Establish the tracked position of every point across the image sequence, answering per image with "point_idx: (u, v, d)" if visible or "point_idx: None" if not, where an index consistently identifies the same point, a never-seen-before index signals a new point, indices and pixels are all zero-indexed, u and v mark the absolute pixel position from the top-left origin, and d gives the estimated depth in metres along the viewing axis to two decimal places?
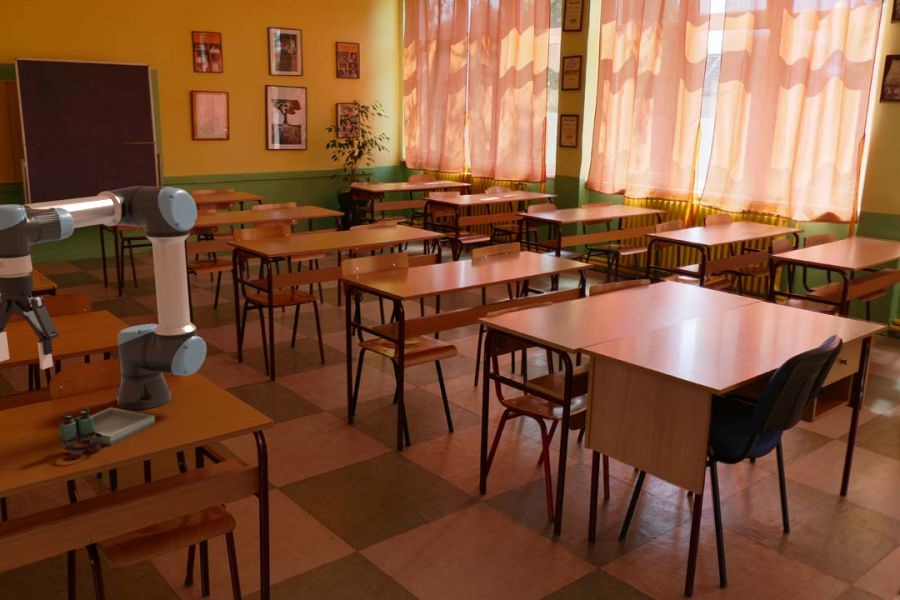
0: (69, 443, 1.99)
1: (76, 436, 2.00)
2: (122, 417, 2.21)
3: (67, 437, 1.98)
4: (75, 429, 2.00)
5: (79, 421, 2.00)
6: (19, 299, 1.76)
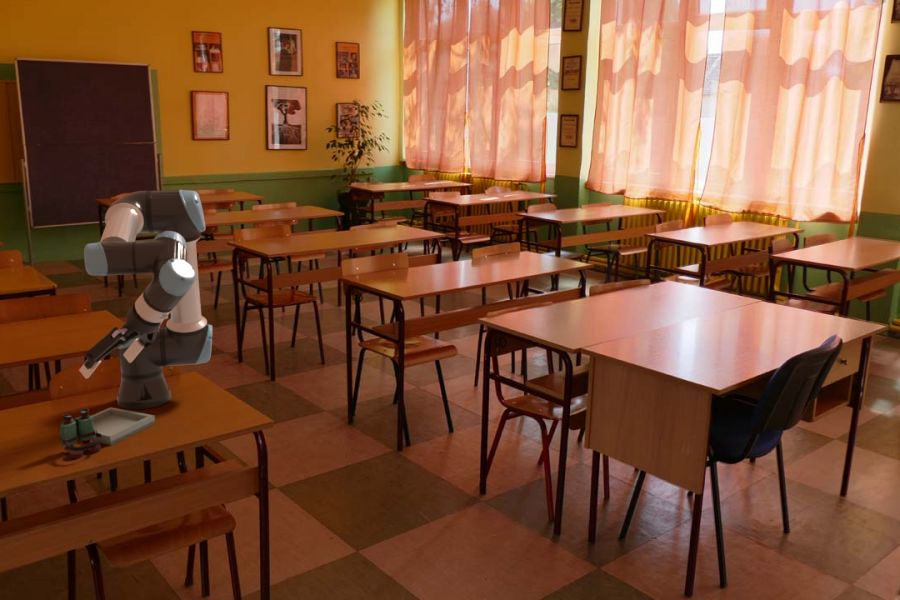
0: (69, 443, 1.99)
1: (76, 436, 2.00)
2: (122, 417, 2.21)
3: (67, 437, 1.98)
4: (75, 429, 2.00)
5: (79, 421, 2.00)
6: None
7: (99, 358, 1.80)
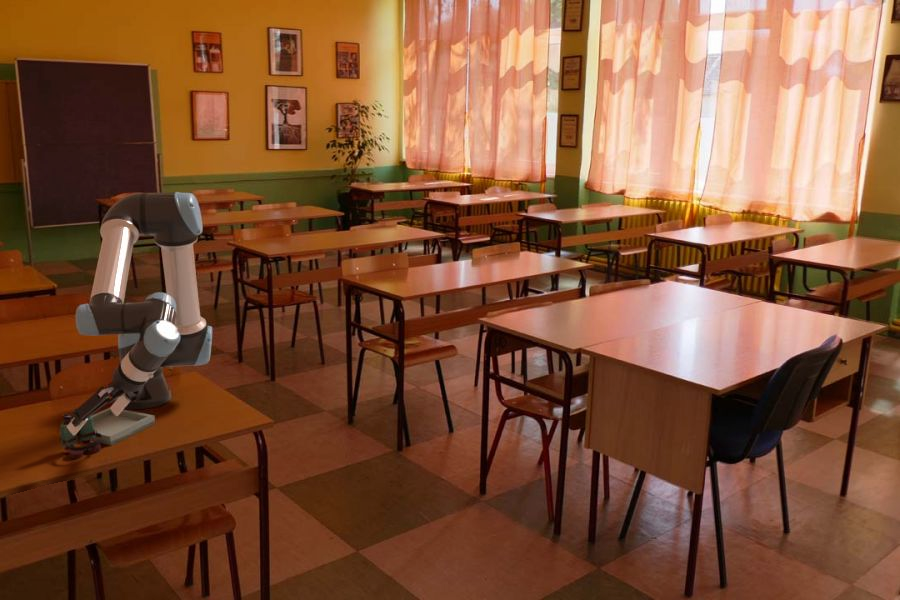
0: (69, 443, 1.99)
1: (76, 436, 2.00)
2: (122, 417, 2.21)
3: (67, 437, 1.98)
4: None
5: None
6: None
7: (86, 416, 1.85)
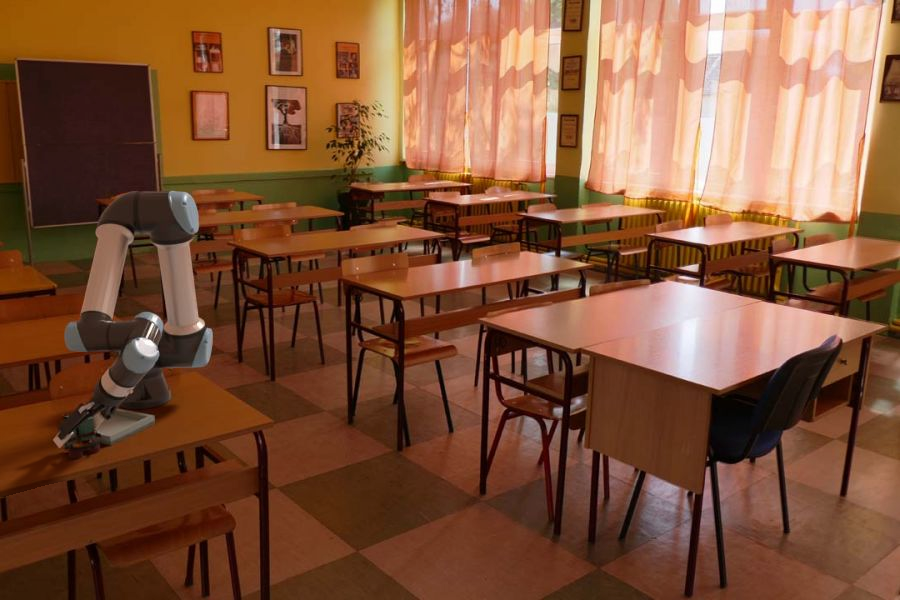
0: (69, 443, 1.99)
1: (75, 436, 2.00)
2: (122, 417, 2.21)
3: None
4: (75, 429, 1.99)
5: None
6: None
7: (70, 431, 1.92)
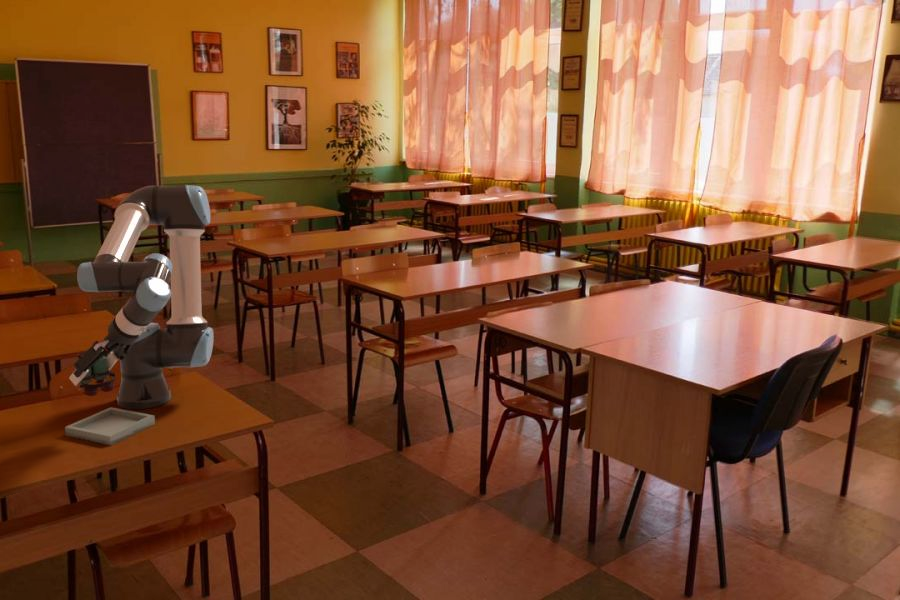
0: (84, 381, 2.05)
1: (90, 375, 2.07)
2: (122, 417, 2.21)
3: None
4: (89, 368, 2.06)
5: None
6: None
7: (86, 368, 1.99)
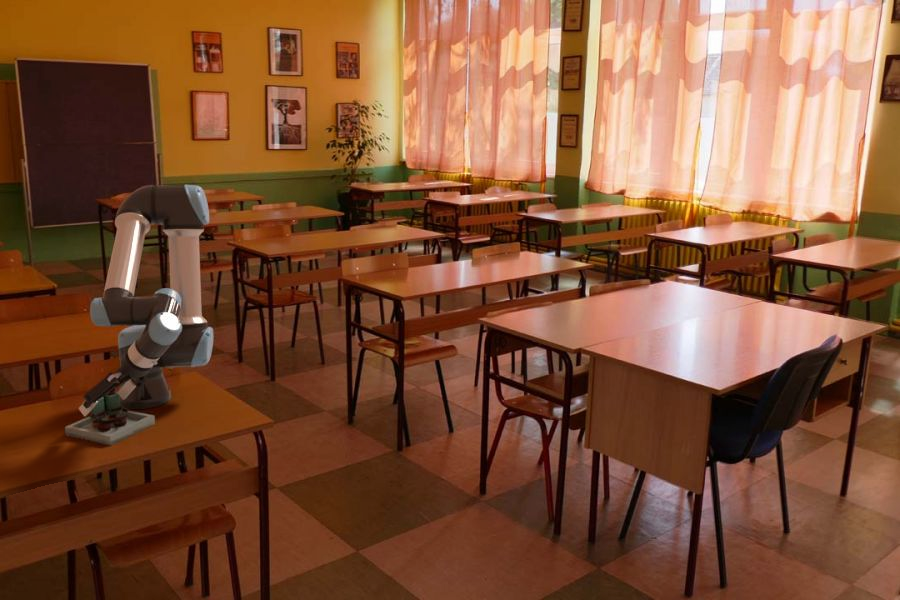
0: (98, 417, 2.13)
1: (104, 411, 2.14)
2: None
3: (96, 411, 2.12)
4: (103, 404, 2.14)
5: (106, 397, 2.15)
6: None
7: (96, 399, 2.04)
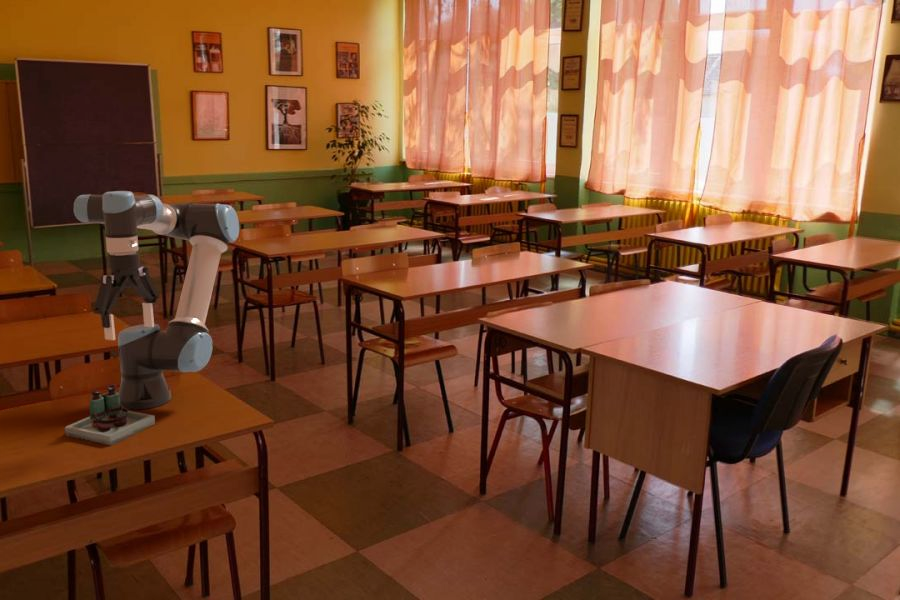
0: (98, 417, 2.13)
1: (104, 411, 2.14)
2: None
3: (96, 411, 2.12)
4: (103, 404, 2.14)
5: (106, 397, 2.15)
6: (134, 272, 2.03)
7: (107, 309, 1.96)
